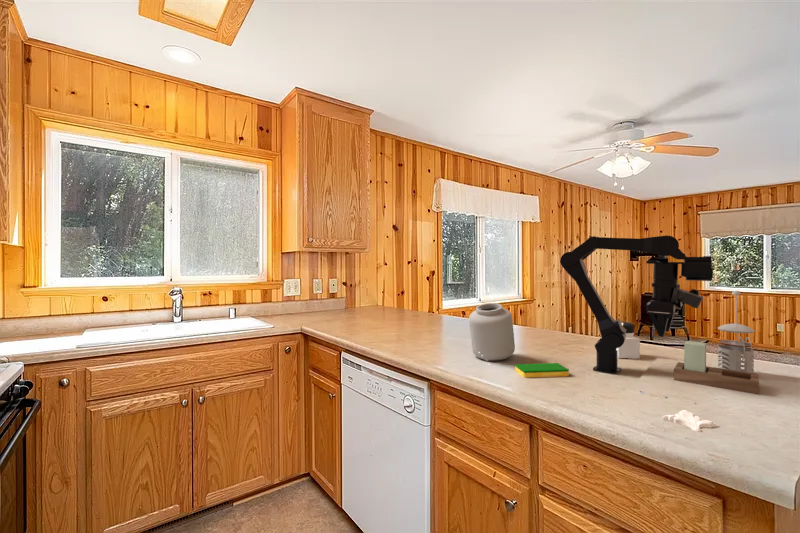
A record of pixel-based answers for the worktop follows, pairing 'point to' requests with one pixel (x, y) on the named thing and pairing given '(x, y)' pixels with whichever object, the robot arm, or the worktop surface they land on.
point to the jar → (491, 332)
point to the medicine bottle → (629, 343)
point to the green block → (695, 356)
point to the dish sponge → (541, 370)
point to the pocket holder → (719, 378)
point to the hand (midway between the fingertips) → (664, 334)
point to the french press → (736, 347)
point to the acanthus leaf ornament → (689, 420)
